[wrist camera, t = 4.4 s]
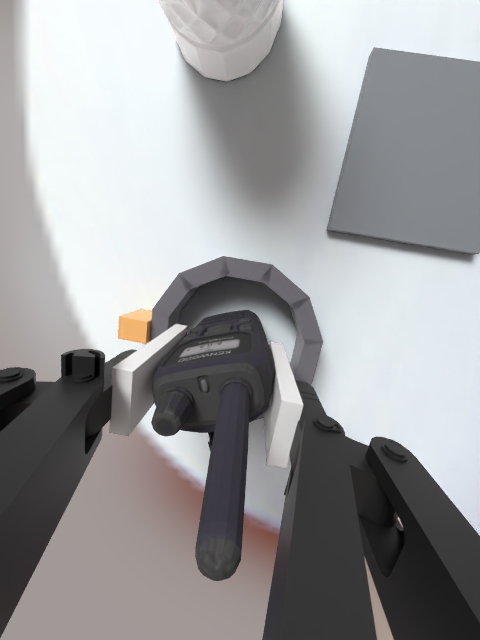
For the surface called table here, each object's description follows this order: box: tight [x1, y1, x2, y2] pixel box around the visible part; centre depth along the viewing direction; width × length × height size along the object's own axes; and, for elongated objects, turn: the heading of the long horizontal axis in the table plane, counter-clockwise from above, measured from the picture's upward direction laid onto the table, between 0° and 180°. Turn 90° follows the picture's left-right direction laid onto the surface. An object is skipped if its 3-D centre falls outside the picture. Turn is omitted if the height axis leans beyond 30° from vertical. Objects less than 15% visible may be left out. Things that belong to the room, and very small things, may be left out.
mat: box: [327, 48, 480, 254], centre depth 14 cm, size 10×10×1 cm
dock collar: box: [118, 256, 323, 420], centre depth 17 cm, size 14×12×3 cm
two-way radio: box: [151, 310, 276, 581], centre depth 11 cm, size 6×4×15 cm
